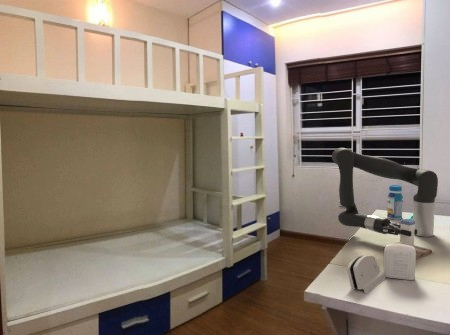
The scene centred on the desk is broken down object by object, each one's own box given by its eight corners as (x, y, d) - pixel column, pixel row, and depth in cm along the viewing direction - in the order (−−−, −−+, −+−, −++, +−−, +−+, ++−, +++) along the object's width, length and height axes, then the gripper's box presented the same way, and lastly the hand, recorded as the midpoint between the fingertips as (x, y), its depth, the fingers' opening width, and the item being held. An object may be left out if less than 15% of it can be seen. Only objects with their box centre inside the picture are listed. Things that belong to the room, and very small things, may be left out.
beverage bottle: (401, 220, 194) (402, 187, 192) (386, 218, 198) (386, 186, 196) (402, 217, 201) (404, 185, 199) (387, 215, 205) (388, 184, 203)
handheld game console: (431, 217, 202) (431, 215, 201) (428, 222, 189) (428, 220, 189) (412, 215, 208) (412, 212, 208) (408, 220, 195) (408, 218, 195)
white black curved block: (365, 293, 106) (356, 263, 108) (352, 294, 109) (343, 264, 111) (385, 277, 117) (376, 250, 119) (373, 278, 121) (364, 251, 122)
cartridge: (404, 243, 146) (405, 218, 145) (413, 246, 142) (415, 220, 141) (399, 245, 144) (400, 220, 142) (408, 248, 140) (409, 222, 139)
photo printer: (413, 276, 118) (414, 243, 117) (416, 281, 114) (417, 247, 113) (382, 273, 121) (383, 241, 120) (384, 278, 117) (385, 244, 116)
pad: (400, 243, 153) (400, 241, 153) (432, 252, 141) (432, 249, 141) (382, 249, 146) (382, 247, 145) (414, 259, 134) (414, 256, 133)
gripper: (368, 218, 150) (405, 227, 136) (386, 214, 158) (423, 222, 143) (367, 234, 151) (404, 244, 137) (386, 229, 159) (422, 238, 144)
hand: (413, 233), depth 140 cm, fingers closed on cartridge, 4 cm apart
